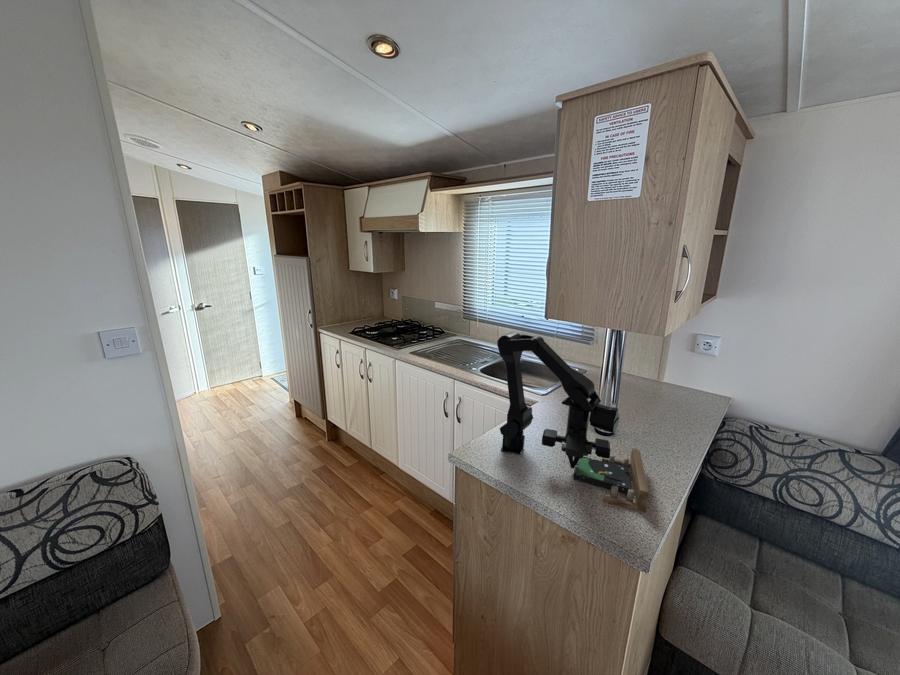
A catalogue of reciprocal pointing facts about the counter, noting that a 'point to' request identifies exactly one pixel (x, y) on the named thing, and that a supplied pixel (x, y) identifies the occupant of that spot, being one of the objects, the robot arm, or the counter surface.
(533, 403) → the counter surface
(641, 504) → the drive tray
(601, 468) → the disk drive
